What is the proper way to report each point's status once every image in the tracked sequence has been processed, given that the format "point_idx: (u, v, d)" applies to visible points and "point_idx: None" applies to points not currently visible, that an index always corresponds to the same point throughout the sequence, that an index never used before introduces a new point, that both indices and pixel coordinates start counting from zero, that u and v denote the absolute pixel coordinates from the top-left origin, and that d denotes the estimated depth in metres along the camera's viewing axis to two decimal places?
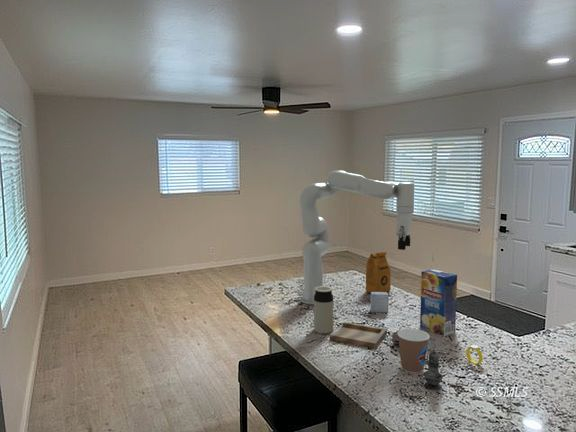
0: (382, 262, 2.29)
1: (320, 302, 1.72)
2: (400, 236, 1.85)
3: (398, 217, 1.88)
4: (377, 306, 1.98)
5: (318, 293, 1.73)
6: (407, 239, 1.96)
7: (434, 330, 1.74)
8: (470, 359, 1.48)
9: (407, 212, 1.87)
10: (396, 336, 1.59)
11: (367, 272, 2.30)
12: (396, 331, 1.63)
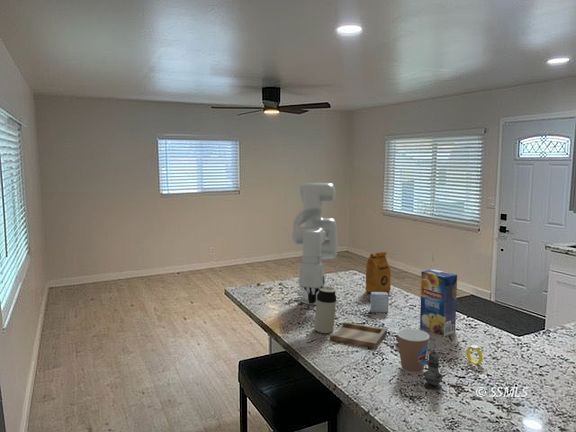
0: (382, 262, 2.29)
1: (323, 302, 1.72)
2: None
3: (320, 268, 1.73)
4: (377, 306, 1.98)
5: (322, 293, 1.72)
6: None
7: (434, 330, 1.74)
8: (470, 359, 1.48)
9: None
10: None
11: (367, 272, 2.30)
12: None
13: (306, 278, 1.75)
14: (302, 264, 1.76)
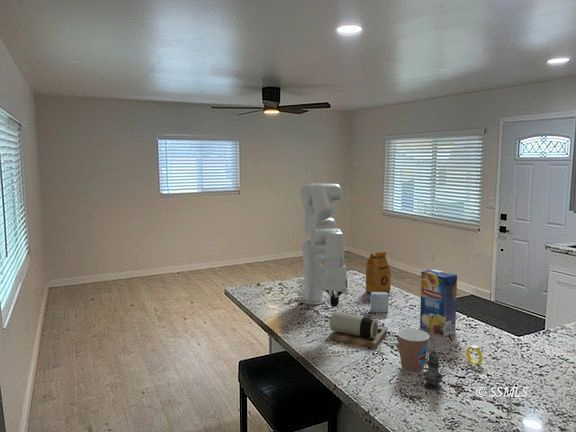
0: (382, 262, 2.29)
1: (359, 329, 1.65)
2: None
3: (343, 271, 1.69)
4: (377, 306, 1.98)
5: (368, 327, 1.64)
6: None
7: (434, 330, 1.74)
8: (470, 359, 1.48)
9: None
10: None
11: (367, 272, 2.30)
12: None
13: (329, 281, 1.71)
14: (324, 266, 1.72)
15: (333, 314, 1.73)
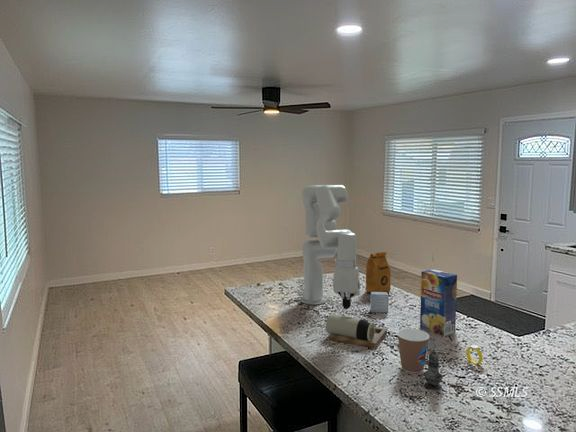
0: (382, 262, 2.29)
1: None
2: None
3: (356, 272, 1.66)
4: (377, 306, 1.98)
5: (365, 337, 1.62)
6: None
7: (434, 330, 1.74)
8: (470, 359, 1.48)
9: None
10: None
11: (367, 272, 2.30)
12: None
13: (341, 283, 1.69)
14: (336, 268, 1.69)
15: (327, 325, 1.69)
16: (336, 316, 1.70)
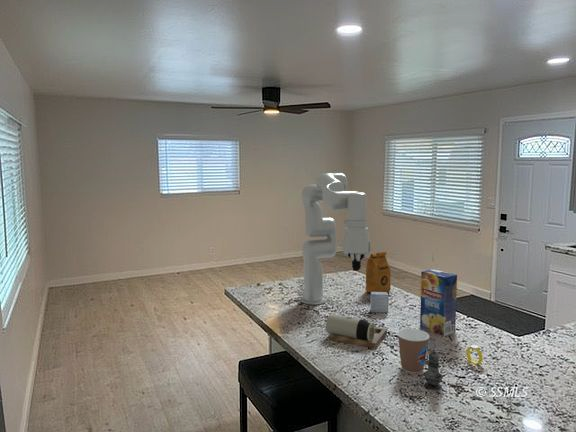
0: (382, 262, 2.29)
1: None
2: None
3: (366, 233, 1.63)
4: (377, 306, 1.98)
5: (365, 337, 1.62)
6: None
7: (434, 330, 1.74)
8: (470, 359, 1.48)
9: None
10: None
11: (367, 272, 2.30)
12: None
13: (351, 244, 1.65)
14: (346, 229, 1.65)
15: (327, 325, 1.69)
16: (336, 316, 1.70)
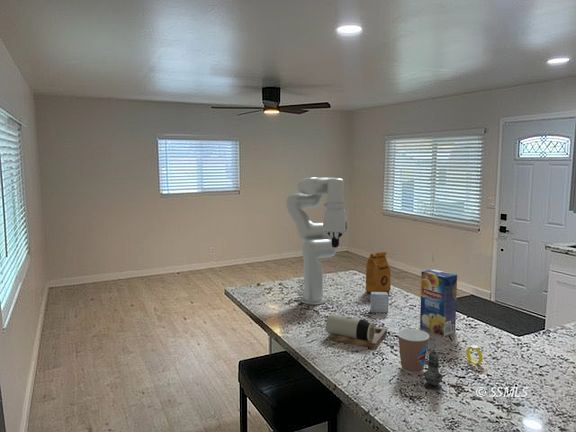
0: (382, 262, 2.29)
1: None
2: None
3: (343, 213, 1.85)
4: (377, 306, 1.98)
5: (365, 337, 1.62)
6: None
7: (434, 330, 1.74)
8: (470, 359, 1.48)
9: None
10: None
11: (367, 272, 2.30)
12: None
13: (330, 223, 1.88)
14: (326, 210, 1.88)
15: (327, 325, 1.69)
16: (336, 316, 1.70)
